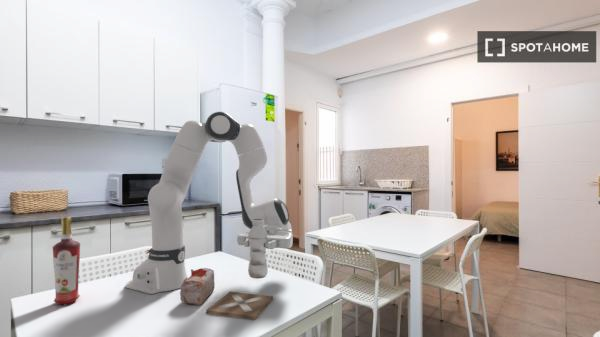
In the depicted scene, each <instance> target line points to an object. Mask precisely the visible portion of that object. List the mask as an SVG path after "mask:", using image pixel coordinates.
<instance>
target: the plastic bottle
mask: <svg viewBox="0 0 600 337" xmlns="http://www.w3.org/2000/svg"><path fill="white" fill-rule="evenodd" d="M263 224H264V223H263V219H260V218H257V219H253V220H252V225H253V227H252V228H251V229H249V231H248V232H249V233H248V239H249V247H248V248H249V260H248V261H249V263H248V269H247V273H248V276H249V277H250V278H251V279H256V280H257V279H264V278H266V276H267V275H268V264H267V256H266V254H267V252H266V250H267V248H265V243H266V241H267V232H266V230H265V229H264V227H265V226H263Z"/></svg>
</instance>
